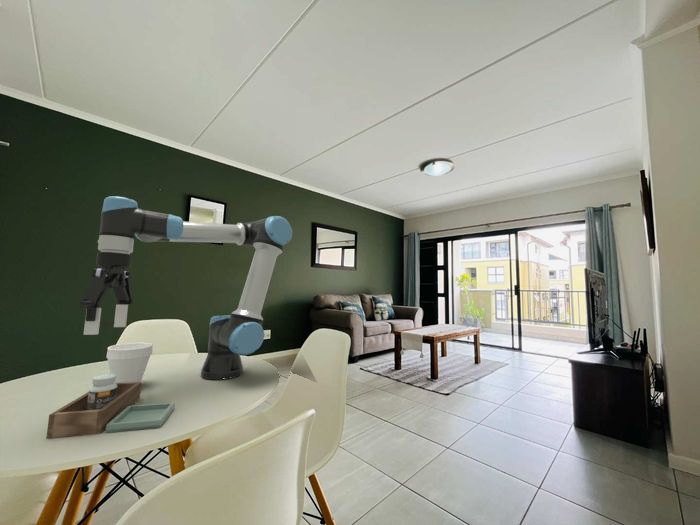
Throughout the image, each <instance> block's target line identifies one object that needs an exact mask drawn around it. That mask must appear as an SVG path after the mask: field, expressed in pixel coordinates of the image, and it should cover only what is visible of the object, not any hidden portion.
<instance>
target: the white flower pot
mask: <svg viewBox="0 0 700 525" xmlns="http://www.w3.org/2000/svg"><path fill="white" fill-rule="evenodd" d="M153 345H154V343H152V342H126V343H119V344H114V345H110V346H108V347H107V348H106V349H107V352H106V357H105V358H106V359H107V362H108V366H109V372H110V374H114V375H116V380H115V381H114V383H128V382H141V383H142V379H143V378H144V377H143V376H144V375H145V372H146V369H147V366H148V363H149V360H150V357H151V355H152V354H153Z"/></svg>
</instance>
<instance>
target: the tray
mask: <svg viewBox="0 0 700 525" xmlns="http://www.w3.org/2000/svg"><path fill="white" fill-rule="evenodd" d="M175 404H176V402H163V403H162V402H161V403H148V404H133V405H132V406H128V407H127V408H126V409H124V410H123V411H122V412H121V413H120V414H119V415H117V416H116V417H115V418H114V419H113V420H112V421H111V422H109V423H108V424H107V426H106V429H105V433H106V434H107V433H110V434H111V433H120V432H129V431H139V430H140V431H141V430H150V429H160V428H162V426H163V425H162V424H164V423H165V422H166V421H167V420H168V418H169V417H170V415H171V414H172V413H173V412H174V410H175ZM171 412H172V413H171ZM168 416H169V417H168ZM165 420H166V421H165ZM161 425H162V426H161Z"/></svg>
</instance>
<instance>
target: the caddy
mask: <svg viewBox="0 0 700 525" xmlns="http://www.w3.org/2000/svg"><path fill="white" fill-rule="evenodd" d="M116 384H117V394H116V398H115V399H114V400H113V401H111V402H110V403H108V404H107V405H106V406H104V407H103V408H102V409H100V410H86V409H87V401H88V393H89V391H87V392H86V393H84V394H82V395H81V396H78V397H77V398H75V399H73V400H72V401H70V402H68V403H66V405H64V406H62V407H61V408H59V409H57V410H55V411H53V412H52V413H50V414H49V415H48V421H47V422H48V423H47V429H46V430H47V431H46V438H45V439H55V438H66V437H76V436H88V435H97V434H102V433H103V432H104V431H106V426H107V424H108V423H109V422H111V421H112V420H113V419H114V418H115V417H116V416H117V415H119V414H120V413H121V412H122V411H123V410H124V409H126V408H127V407H128V406H132V405H136V403H137V402H138V401H139V400H140V399H141V390H142V381H141V382H128V383H116Z"/></svg>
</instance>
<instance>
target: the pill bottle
mask: <svg viewBox="0 0 700 525" xmlns="http://www.w3.org/2000/svg"><path fill="white" fill-rule="evenodd" d="M115 380H116V375H114V374H111V373H110V374H108V373H107V374H100V375H97V376H96V375H95V376H93V378H92V381H91V382H92V384H93V385H92V386H91V387H90V388H88V392H89V393H88V401H87V409H86V410H100V409H102V408H103V407H104V406H106V405H107V404H108V403H110V402H111V401H113V400H114V399H115V398H116V394H117V384H116V383H114V381H115Z"/></svg>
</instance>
